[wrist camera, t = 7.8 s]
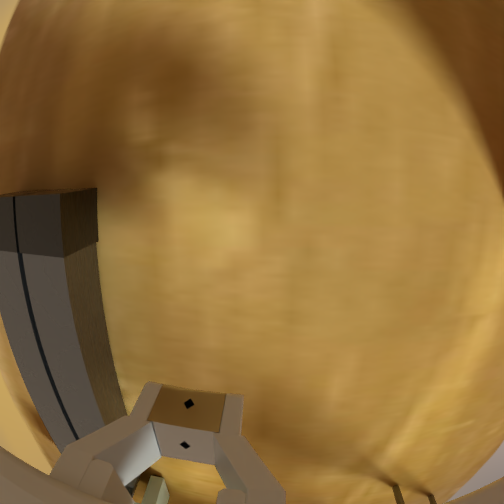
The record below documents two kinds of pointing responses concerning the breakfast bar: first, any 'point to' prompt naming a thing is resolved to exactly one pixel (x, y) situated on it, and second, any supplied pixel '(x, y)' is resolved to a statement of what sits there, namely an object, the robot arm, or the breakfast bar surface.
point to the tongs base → (29, 331)
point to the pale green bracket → (156, 492)
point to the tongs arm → (70, 302)
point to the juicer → (400, 499)
